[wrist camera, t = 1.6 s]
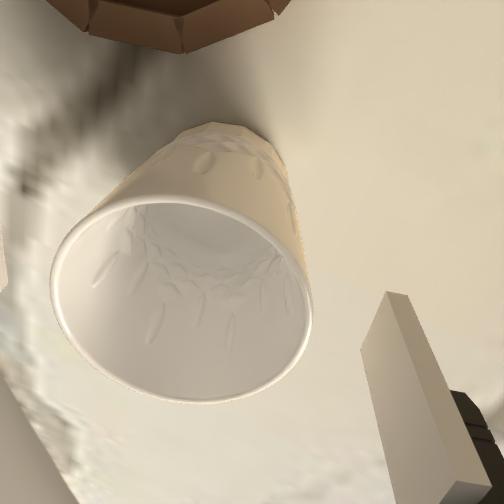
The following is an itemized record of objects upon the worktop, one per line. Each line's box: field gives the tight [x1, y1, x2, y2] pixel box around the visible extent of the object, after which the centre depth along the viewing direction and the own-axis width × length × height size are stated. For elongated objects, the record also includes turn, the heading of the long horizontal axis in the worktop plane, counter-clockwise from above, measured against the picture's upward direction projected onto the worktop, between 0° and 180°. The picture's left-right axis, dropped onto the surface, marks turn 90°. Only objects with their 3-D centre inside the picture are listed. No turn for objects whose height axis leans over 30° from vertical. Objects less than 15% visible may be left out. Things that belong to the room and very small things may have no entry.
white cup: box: [50, 122, 314, 404], centre depth 17 cm, size 8×8×10 cm
